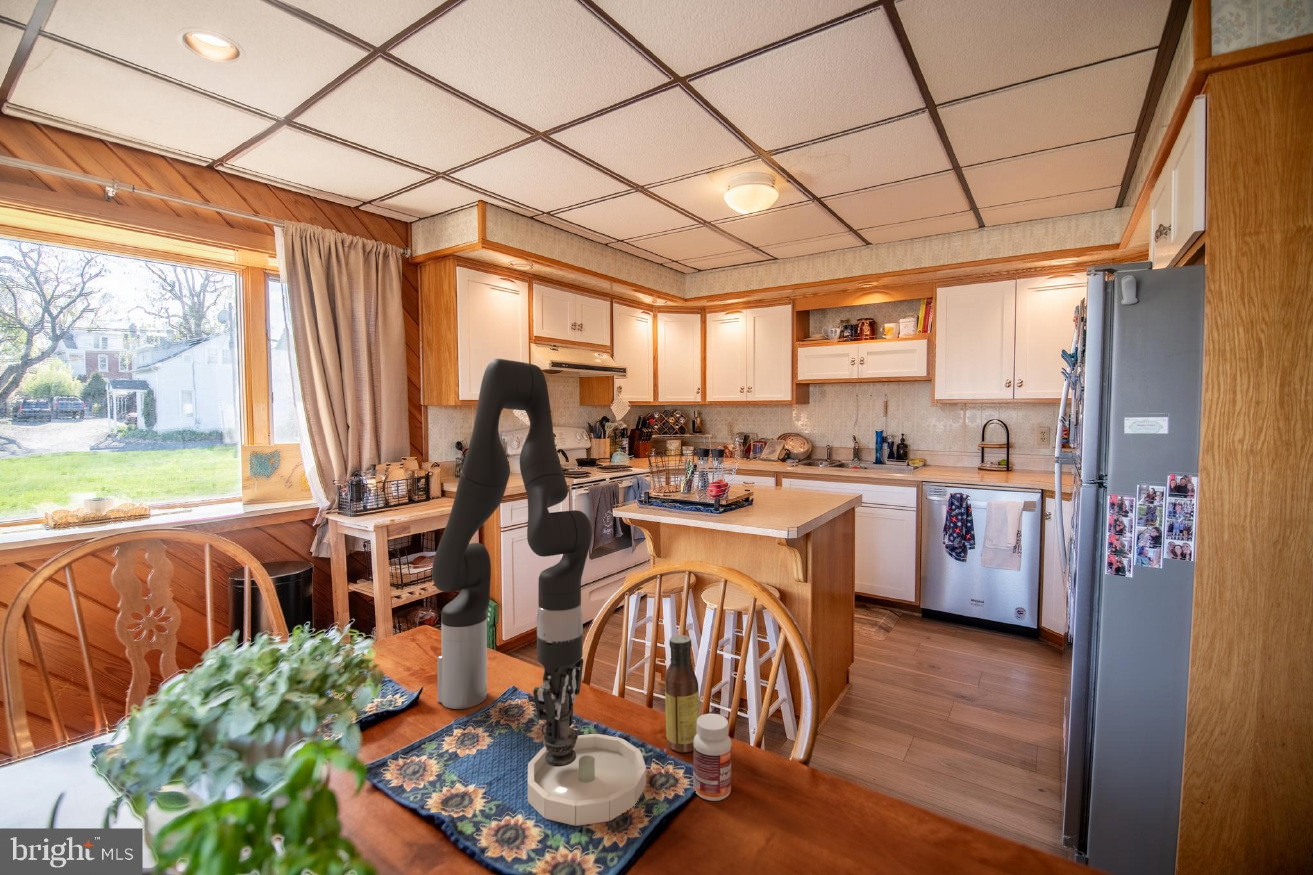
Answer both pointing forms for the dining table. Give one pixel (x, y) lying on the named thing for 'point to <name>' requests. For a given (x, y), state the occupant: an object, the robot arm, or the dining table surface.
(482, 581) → the robot arm
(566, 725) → the dark stone tower
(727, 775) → the pill bottle
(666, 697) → the sauce bottle
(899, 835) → the dining table surface
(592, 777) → the tray
